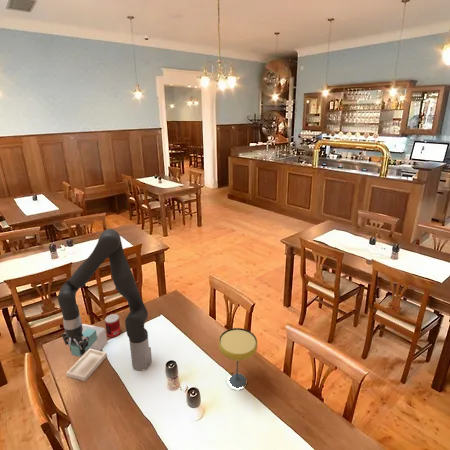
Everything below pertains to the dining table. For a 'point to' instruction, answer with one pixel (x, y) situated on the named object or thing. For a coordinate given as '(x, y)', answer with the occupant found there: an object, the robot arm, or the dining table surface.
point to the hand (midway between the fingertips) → (78, 352)
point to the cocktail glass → (238, 350)
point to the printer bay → (101, 336)
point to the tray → (86, 365)
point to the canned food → (112, 325)
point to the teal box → (75, 349)
